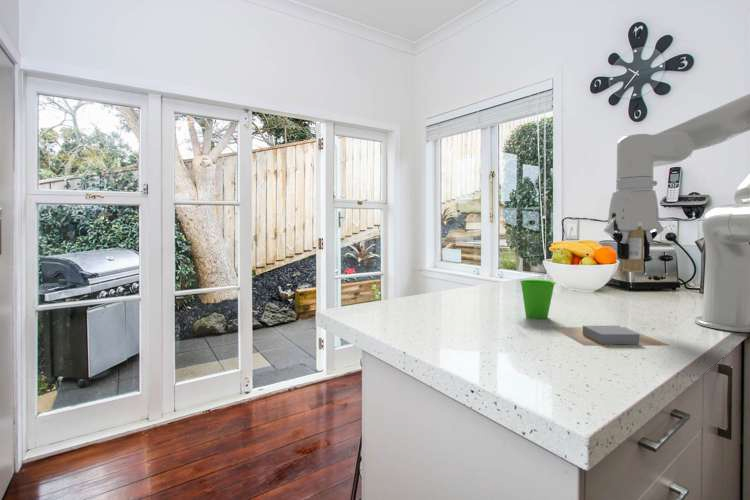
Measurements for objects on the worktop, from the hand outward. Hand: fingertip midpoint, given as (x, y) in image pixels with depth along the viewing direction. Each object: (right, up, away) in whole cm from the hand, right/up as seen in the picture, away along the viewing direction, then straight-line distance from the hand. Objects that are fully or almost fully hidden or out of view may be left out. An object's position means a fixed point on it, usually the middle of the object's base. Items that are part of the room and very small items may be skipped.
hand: (633, 258), depth 93 cm
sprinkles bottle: (0, -4, 0) cm, 4 cm away
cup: (-20, -18, +9) cm, 29 cm away
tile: (-10, -17, -12) cm, 23 cm away
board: (-12, -19, -9) cm, 24 cm away
